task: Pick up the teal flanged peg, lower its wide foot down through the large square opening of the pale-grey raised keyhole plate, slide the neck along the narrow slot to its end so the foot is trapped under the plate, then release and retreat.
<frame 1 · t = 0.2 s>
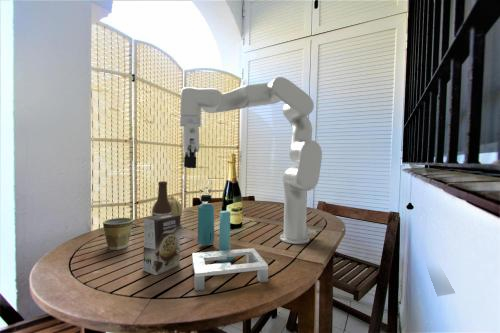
hand: (189, 167, 92), 31 cm above the table, fingers open, 9 cm apart
cantaloupe: (166, 226, 124), on the table
beverage bottle: (205, 246, 96), on the table
ceramic cup: (116, 246, 94), on the table
food box: (162, 268, 76), on the table
keyhole plate: (228, 274, 73), on the table
flanged peg: (224, 258, 84), on the table
beer bottle: (162, 237, 105), on the table
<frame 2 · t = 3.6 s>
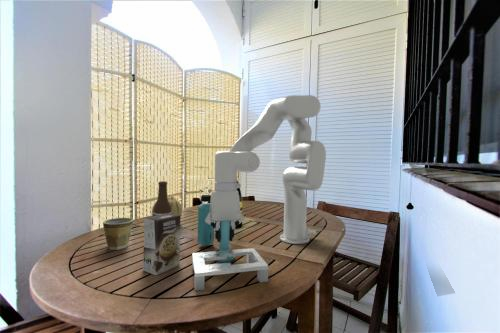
hand: (224, 240, 84), 6 cm above the table, fingers closed on flanged peg, 3 cm apart
flanged peg: (224, 258, 84), on the table, touching gripper
everything else where it was.
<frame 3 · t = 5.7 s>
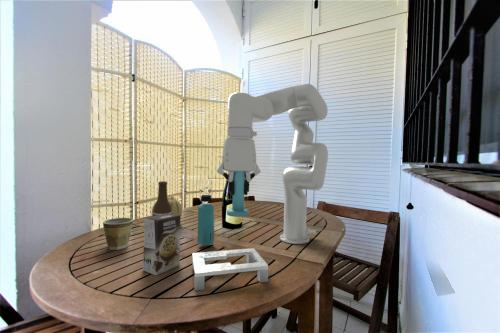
hand: (238, 193, 76), 23 cm above the table, fingers closed on flanged peg, 3 cm apart
flanged peg: (238, 214, 76), point 17 cm above the table, touching gripper
everything else where it was.
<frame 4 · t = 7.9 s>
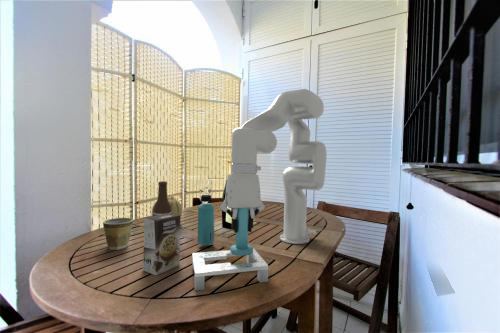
hand: (242, 230, 73), 13 cm above the table, fingers closed on flanged peg, 3 cm apart
flanged peg: (241, 251, 73), point 7 cm above the table, touching gripper
everything else where it was.
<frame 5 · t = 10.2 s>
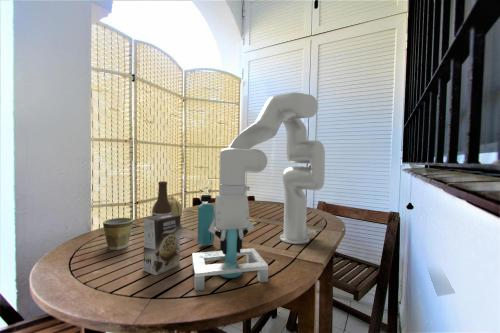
hand: (230, 251, 73), 7 cm above the table, fingers closed on flanged peg, 3 cm apart
flanged peg: (230, 272, 73), on the table, touching gripper
everything else where it was.
when the fingers open (7 cm above the table, at t = 12.3 s): flanged peg stays where it is, on the table.
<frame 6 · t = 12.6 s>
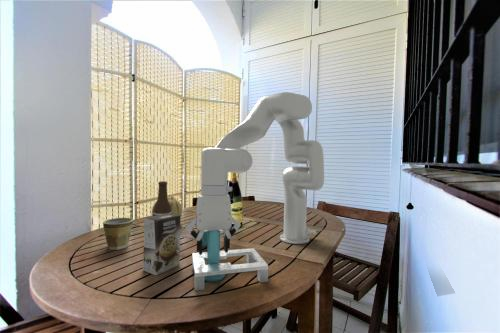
hand: (213, 251, 71), 7 cm above the table, fingers open, 6 cm apart
flanged peg: (213, 275, 71), on the table
everything else where it was.
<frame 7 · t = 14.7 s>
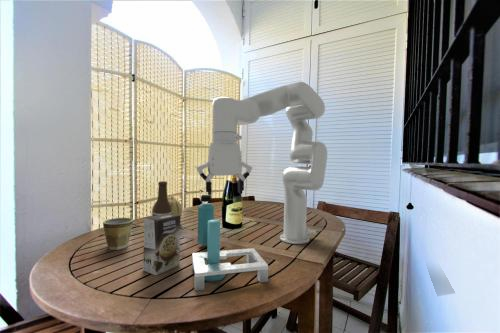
hand: (225, 193, 77), 23 cm above the table, fingers open, 9 cm apart
nothing on the table moved.
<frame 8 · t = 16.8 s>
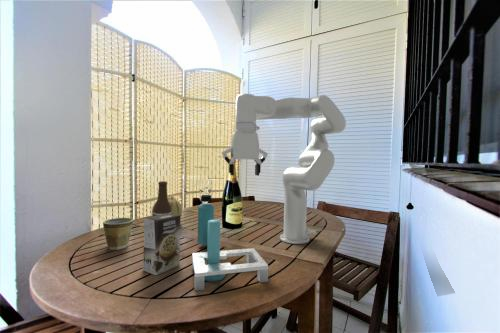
hand: (244, 175, 91), 28 cm above the table, fingers open, 9 cm apart
nothing on the table moved.
at the end: flanged peg 0.3 cm from the target spot on the keyhole plate, point 0.0 cm above the keyhole plate's base; flanged peg tilted 0°; the gripper is holding nothing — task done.
